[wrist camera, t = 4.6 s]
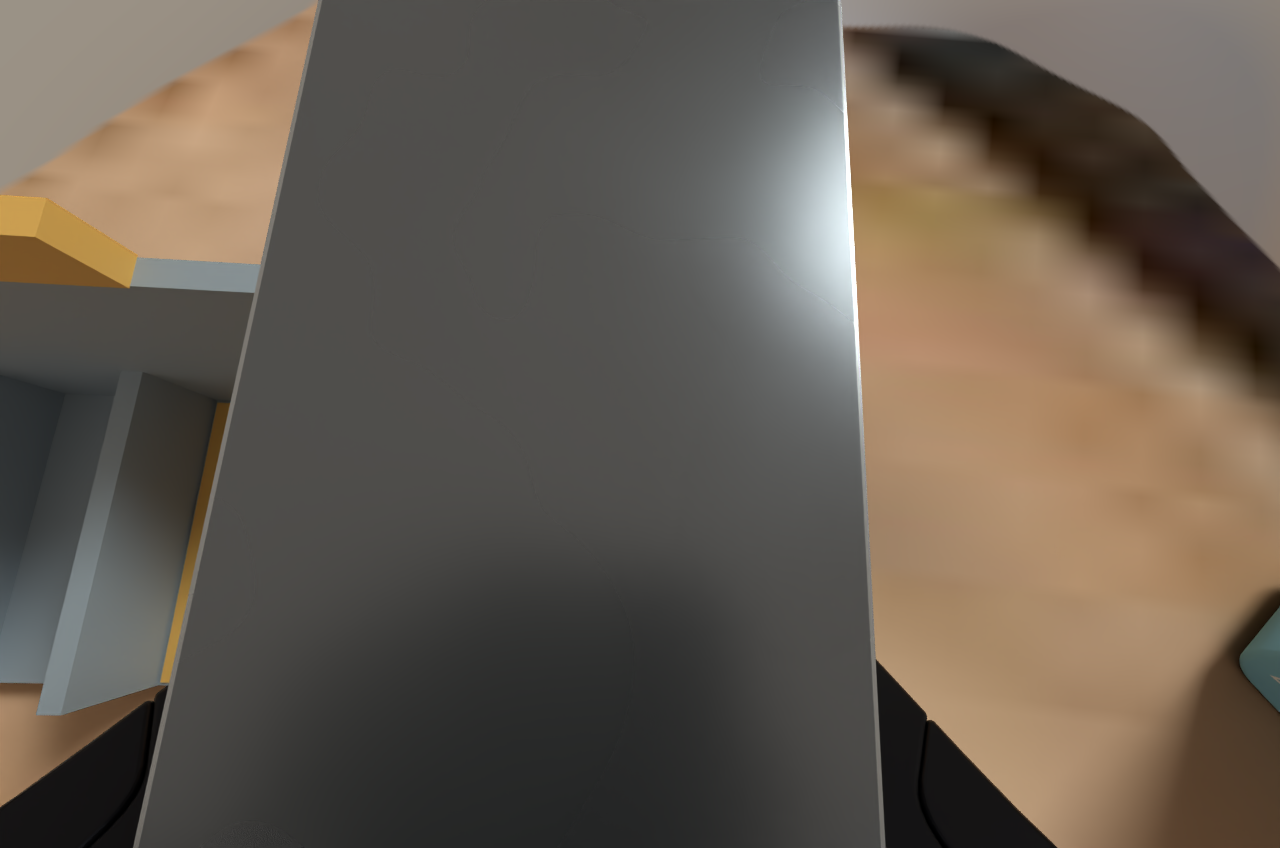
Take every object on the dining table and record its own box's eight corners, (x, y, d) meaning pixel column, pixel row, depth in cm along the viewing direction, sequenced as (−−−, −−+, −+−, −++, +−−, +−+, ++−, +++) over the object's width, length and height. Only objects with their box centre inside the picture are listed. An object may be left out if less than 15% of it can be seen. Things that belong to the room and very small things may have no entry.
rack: (488, 684, 19) (304, 904, 7) (-6, 676, 18) (-1130, 914, 6) (512, 401, 21) (400, 220, 9) (73, 381, 20) (-652, 154, 8)
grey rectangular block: (644, 701, 13) (927, 1648, 2) (518, 697, 13) (-62, 1732, 2) (654, 421, 15) (839, -22, 3) (542, 415, 15) (334, -77, 3)
